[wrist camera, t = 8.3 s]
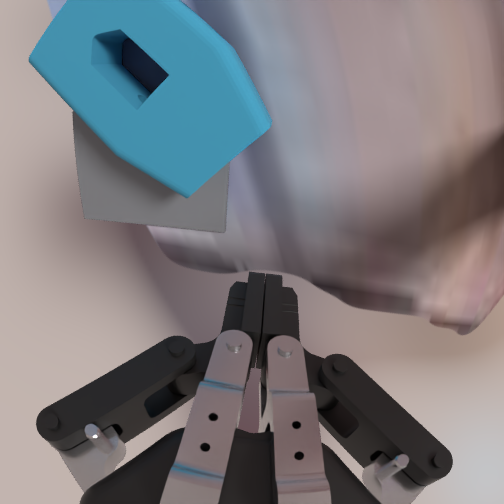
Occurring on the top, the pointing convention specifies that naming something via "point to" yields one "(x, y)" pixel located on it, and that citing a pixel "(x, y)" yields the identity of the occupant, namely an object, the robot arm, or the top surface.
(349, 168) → the top surface
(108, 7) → the block
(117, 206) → the mat
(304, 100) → the top surface
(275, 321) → the robot arm
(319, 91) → the top surface
